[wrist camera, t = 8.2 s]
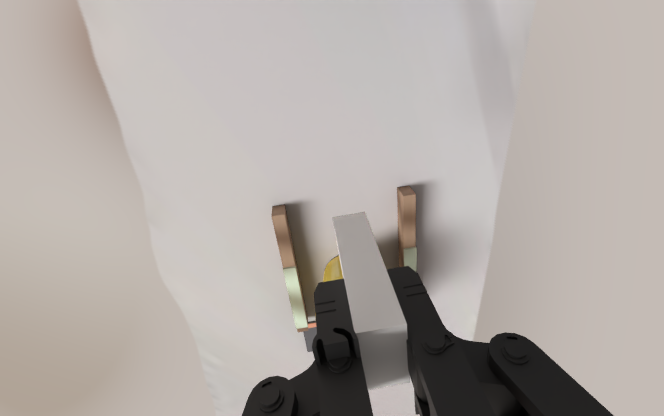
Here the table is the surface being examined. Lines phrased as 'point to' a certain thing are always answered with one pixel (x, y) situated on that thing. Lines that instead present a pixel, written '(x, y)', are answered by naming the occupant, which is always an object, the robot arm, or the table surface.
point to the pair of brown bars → (289, 261)
